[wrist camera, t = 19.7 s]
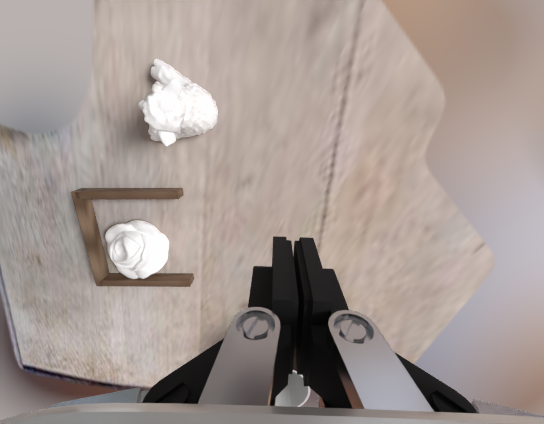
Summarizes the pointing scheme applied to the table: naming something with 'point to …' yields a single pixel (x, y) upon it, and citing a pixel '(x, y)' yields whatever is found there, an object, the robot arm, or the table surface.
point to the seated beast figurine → (176, 106)
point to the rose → (137, 248)
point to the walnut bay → (95, 244)
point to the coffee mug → (293, 390)
